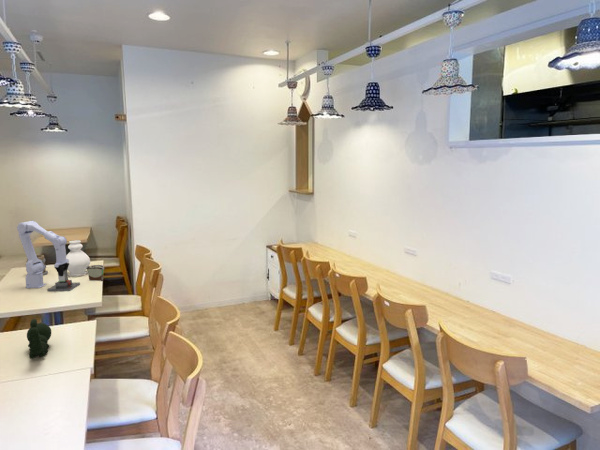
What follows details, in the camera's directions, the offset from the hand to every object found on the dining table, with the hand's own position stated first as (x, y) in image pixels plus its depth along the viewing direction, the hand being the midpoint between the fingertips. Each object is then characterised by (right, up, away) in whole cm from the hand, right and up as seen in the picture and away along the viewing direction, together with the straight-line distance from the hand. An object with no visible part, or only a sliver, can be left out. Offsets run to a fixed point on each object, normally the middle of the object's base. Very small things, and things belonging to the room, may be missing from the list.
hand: (62, 275), depth 272 cm
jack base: (0, -9, +1) cm, 9 cm away
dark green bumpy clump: (+41, -23, -90) cm, 102 cm away
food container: (+13, -6, +21) cm, 25 cm away
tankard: (-37, -4, +30) cm, 48 cm away
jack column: (0, -4, +1) cm, 4 cm away
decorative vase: (-9, -4, +35) cm, 36 cm away
